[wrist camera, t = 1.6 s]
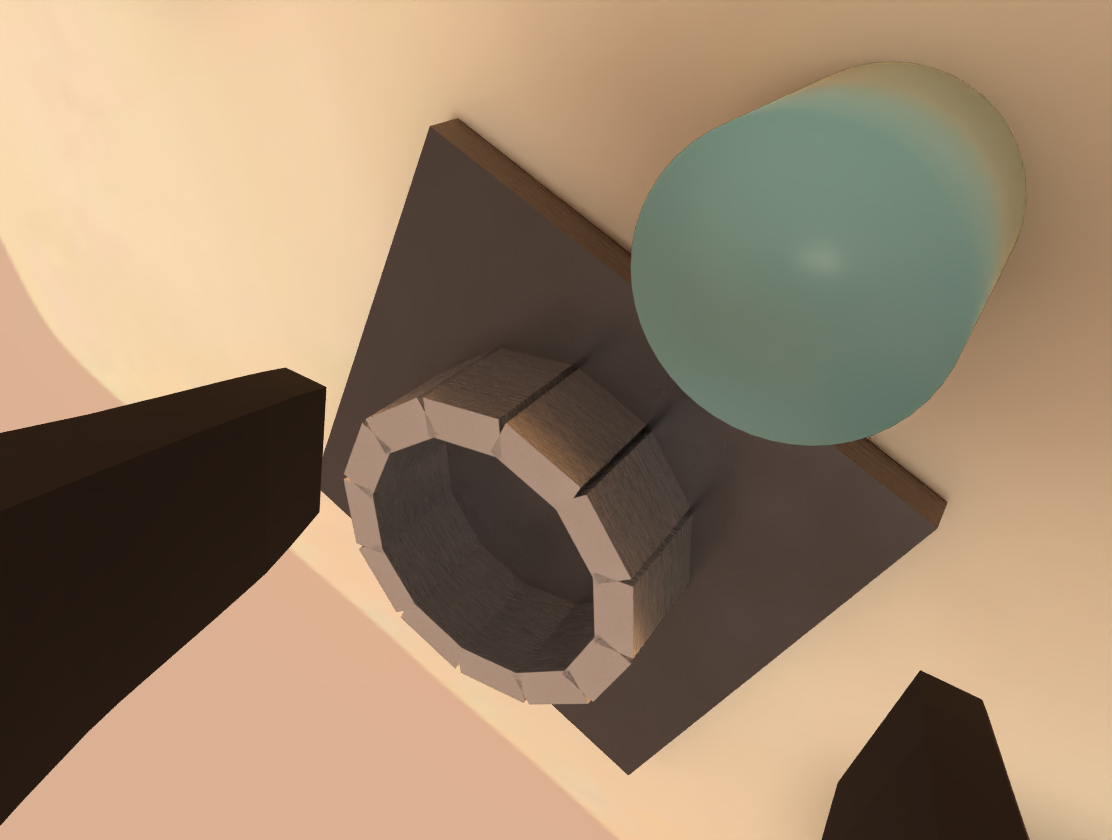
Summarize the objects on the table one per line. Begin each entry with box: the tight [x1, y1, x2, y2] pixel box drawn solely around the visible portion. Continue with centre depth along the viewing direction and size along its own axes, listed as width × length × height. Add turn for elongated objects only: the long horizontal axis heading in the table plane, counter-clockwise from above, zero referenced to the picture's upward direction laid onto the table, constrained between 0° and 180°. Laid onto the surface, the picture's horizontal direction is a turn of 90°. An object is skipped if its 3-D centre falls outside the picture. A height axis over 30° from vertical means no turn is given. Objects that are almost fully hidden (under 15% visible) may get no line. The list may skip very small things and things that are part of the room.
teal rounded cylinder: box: [631, 62, 1026, 446], centre depth 14 cm, size 5×5×5 cm
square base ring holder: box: [321, 119, 947, 775], centre depth 22 cm, size 14×14×4 cm
